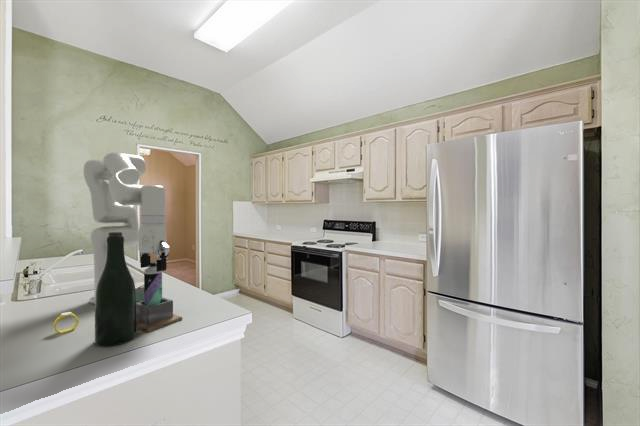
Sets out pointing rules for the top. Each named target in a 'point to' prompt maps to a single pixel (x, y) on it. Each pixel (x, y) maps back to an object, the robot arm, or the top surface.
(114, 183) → the robot arm
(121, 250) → the beer bottle
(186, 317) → the top surface
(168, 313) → the can holder
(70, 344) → the top surface
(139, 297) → the food container
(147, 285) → the spray can
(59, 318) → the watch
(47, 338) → the top surface
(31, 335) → the top surface
